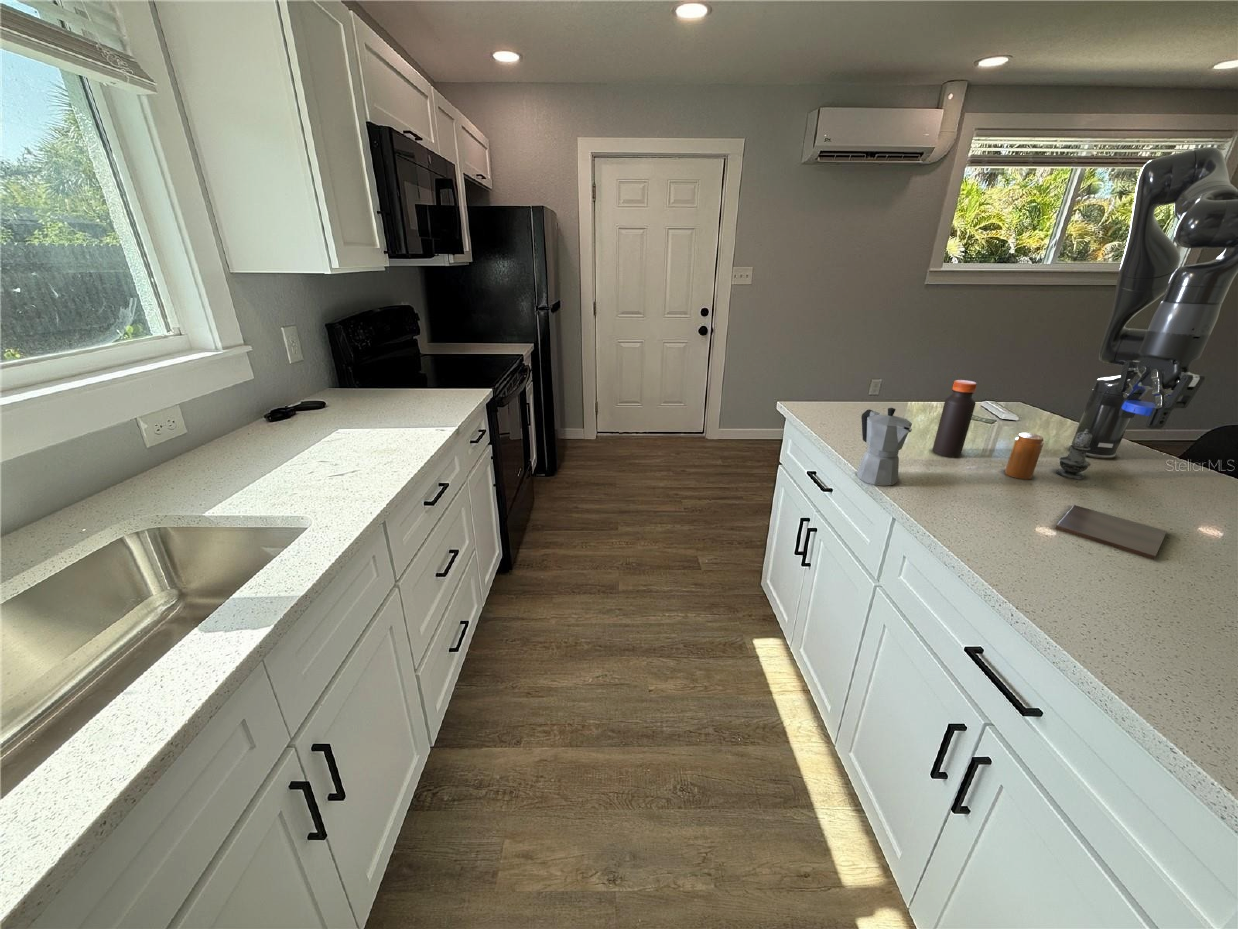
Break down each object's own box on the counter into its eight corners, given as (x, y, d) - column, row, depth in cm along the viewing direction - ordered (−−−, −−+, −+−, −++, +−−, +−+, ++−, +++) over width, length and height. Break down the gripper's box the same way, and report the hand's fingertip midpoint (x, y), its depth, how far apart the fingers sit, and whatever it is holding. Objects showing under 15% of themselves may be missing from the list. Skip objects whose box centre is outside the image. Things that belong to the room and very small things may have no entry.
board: (1072, 508, 106) (1074, 504, 105) (1165, 534, 96) (1167, 530, 95) (1055, 528, 98) (1056, 525, 97) (1153, 559, 88) (1155, 556, 87)
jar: (1008, 468, 125) (1021, 431, 121) (1034, 475, 122) (1048, 436, 118) (1001, 474, 122) (1014, 435, 118) (1027, 481, 118) (1041, 441, 115)
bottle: (934, 455, 134) (953, 384, 126) (930, 447, 140) (947, 378, 132) (963, 459, 131) (984, 386, 124) (957, 450, 137) (977, 380, 129)
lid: (1127, 406, 94) (1130, 398, 93) (1169, 414, 90) (1173, 406, 89) (1117, 409, 91) (1120, 402, 91) (1160, 418, 87) (1164, 410, 86)
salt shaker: (1091, 480, 119) (1110, 433, 114) (1063, 478, 120) (1081, 432, 115) (1075, 470, 124) (1093, 425, 119) (1049, 468, 125) (1065, 424, 120)
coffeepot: (913, 487, 115) (931, 414, 108) (878, 491, 114) (895, 417, 107) (868, 463, 129) (882, 396, 122) (837, 466, 127) (849, 399, 120)
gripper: (1122, 324, 92) (1088, 411, 98) (1191, 335, 79) (1147, 434, 85) (1168, 325, 91) (1131, 412, 97) (1246, 336, 77) (1197, 436, 84)
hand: (1139, 422), depth 91 cm, fingers closed on lid, 5 cm apart
